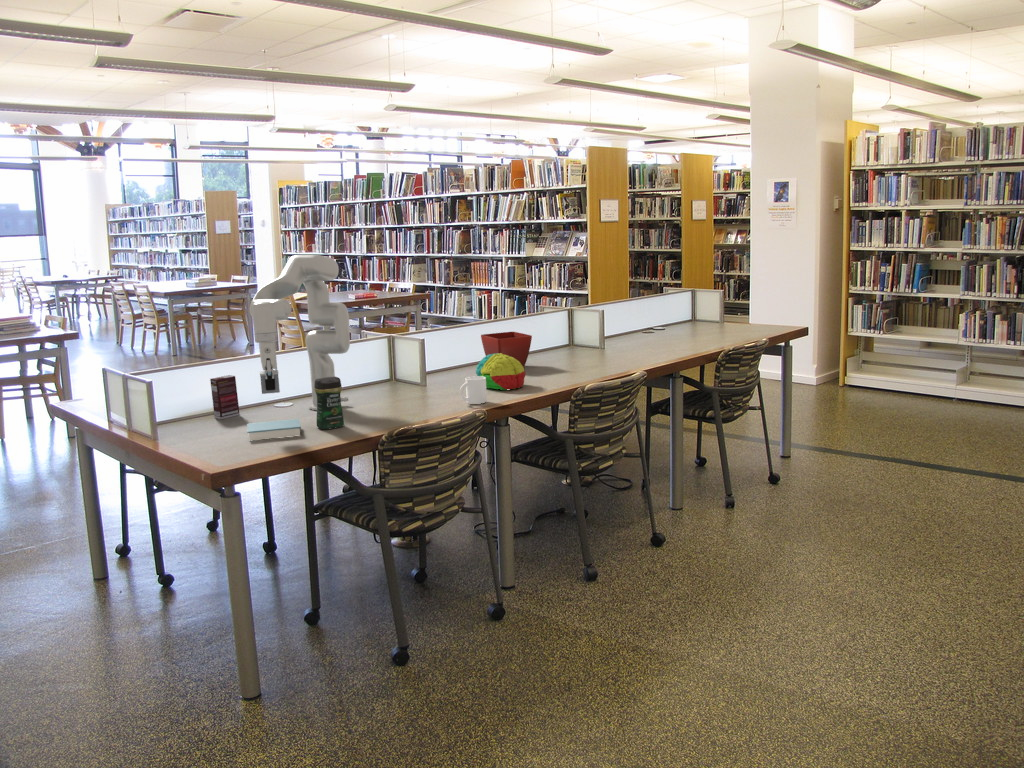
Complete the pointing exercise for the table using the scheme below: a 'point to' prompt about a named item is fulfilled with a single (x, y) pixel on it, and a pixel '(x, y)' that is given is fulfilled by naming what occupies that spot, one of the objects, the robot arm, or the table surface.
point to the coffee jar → (329, 402)
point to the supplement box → (224, 397)
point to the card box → (263, 386)
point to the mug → (474, 390)
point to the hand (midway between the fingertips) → (270, 387)
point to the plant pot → (508, 345)
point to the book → (273, 429)
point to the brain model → (501, 372)
